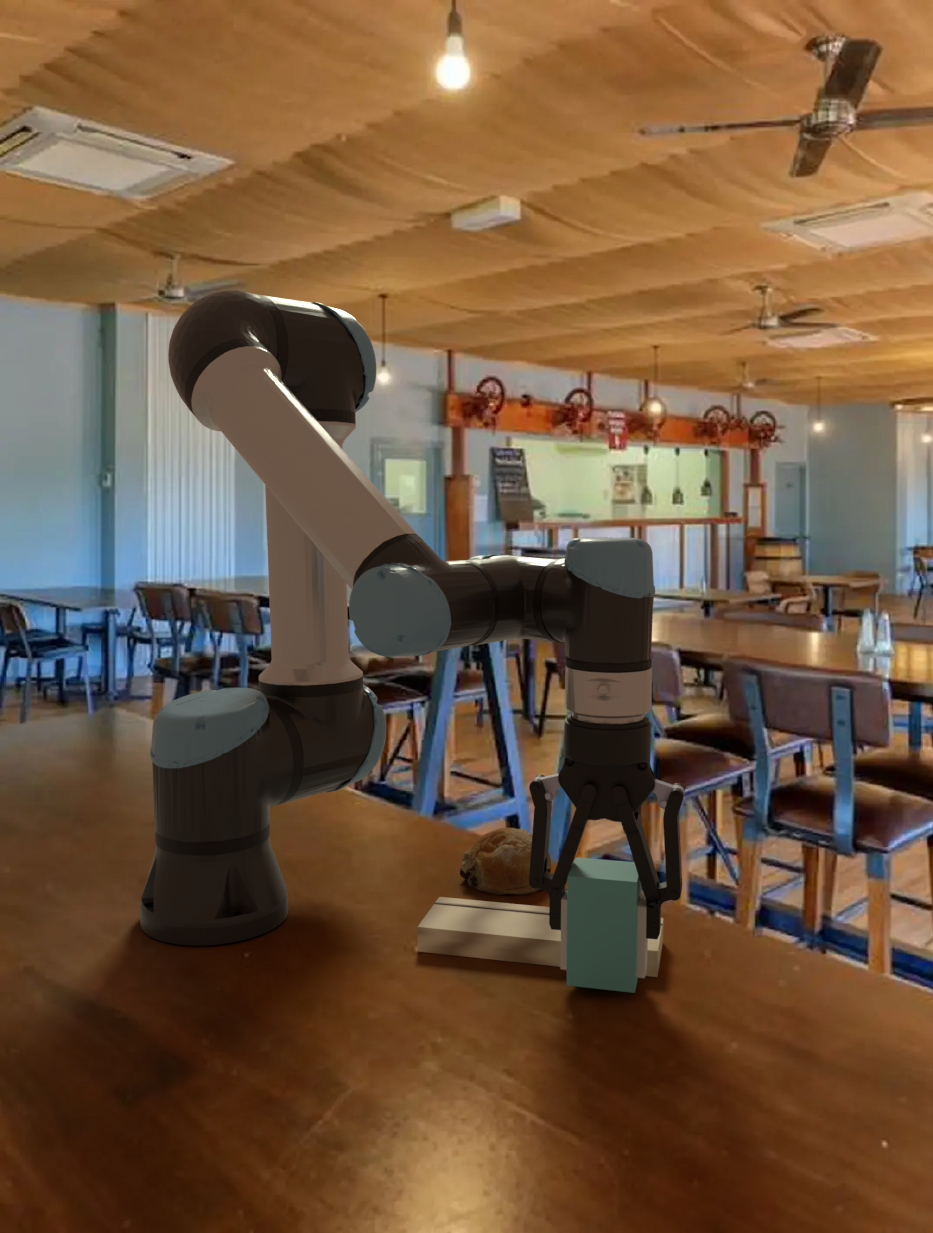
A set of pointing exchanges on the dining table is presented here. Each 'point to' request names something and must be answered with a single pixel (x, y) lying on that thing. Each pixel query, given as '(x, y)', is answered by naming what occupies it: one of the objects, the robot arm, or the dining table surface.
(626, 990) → the teal boxy piece
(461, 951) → the plank
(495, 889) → the bread roll
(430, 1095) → the dining table surface
